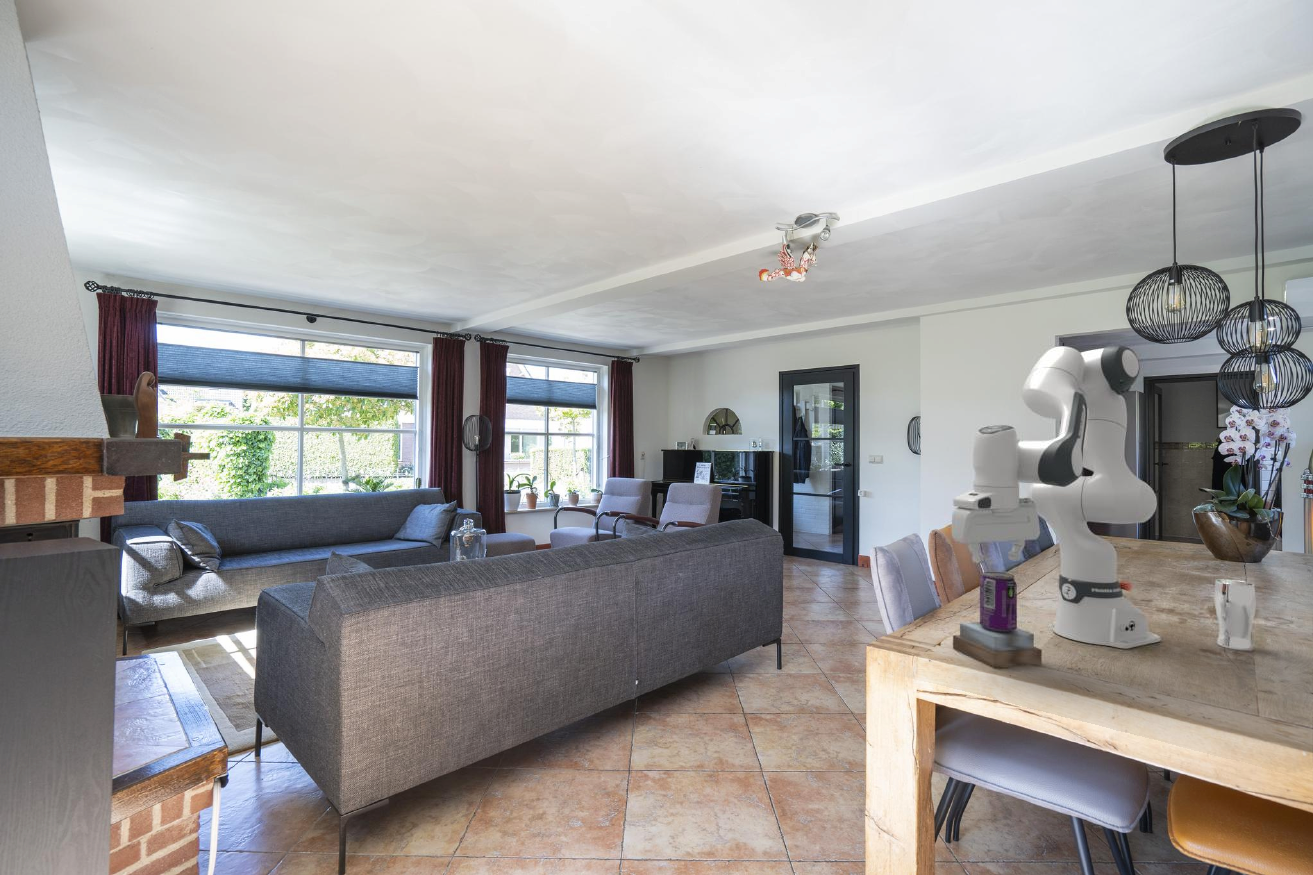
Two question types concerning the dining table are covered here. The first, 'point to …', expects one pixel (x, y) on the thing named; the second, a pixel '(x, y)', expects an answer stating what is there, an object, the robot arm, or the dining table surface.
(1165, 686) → the dining table surface
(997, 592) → the beverage can
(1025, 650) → the stepped plinth
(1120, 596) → the robot arm
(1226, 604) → the beer glass
